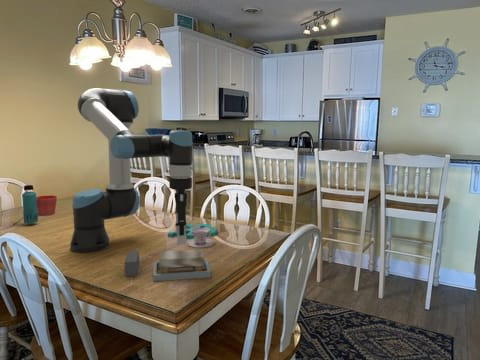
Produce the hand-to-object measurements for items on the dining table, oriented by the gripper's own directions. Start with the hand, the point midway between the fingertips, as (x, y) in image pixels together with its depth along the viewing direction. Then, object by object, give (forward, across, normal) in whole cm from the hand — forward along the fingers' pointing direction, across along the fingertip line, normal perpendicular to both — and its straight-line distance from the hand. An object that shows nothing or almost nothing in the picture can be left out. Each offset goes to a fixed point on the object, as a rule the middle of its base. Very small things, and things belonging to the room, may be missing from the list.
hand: (180, 237), depth 127 cm
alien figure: (+14, +46, -9) cm, 49 cm away
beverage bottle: (+15, +71, +71) cm, 101 cm away
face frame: (+12, -1, 0) cm, 12 cm away
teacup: (+13, +29, -10) cm, 34 cm away
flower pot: (+16, +93, +70) cm, 117 cm away
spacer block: (+13, +4, +17) cm, 21 cm away
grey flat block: (+9, 0, 0) cm, 9 cm away
